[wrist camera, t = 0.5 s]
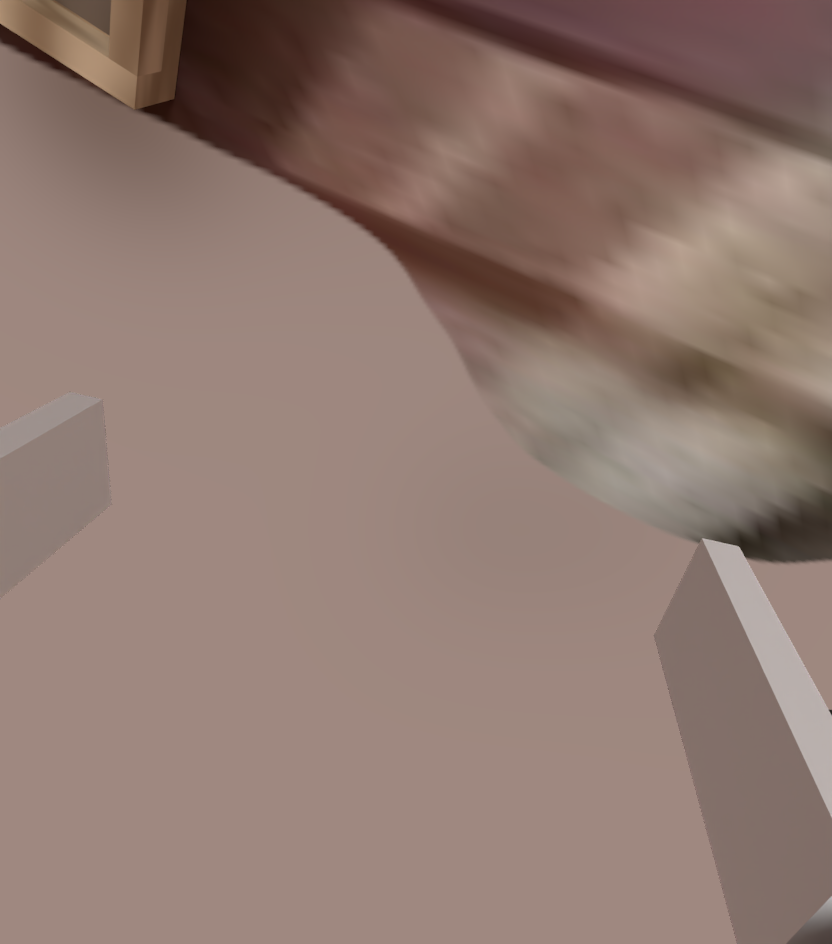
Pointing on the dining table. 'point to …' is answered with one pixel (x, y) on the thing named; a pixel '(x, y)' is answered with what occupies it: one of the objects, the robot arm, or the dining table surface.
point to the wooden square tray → (107, 42)
